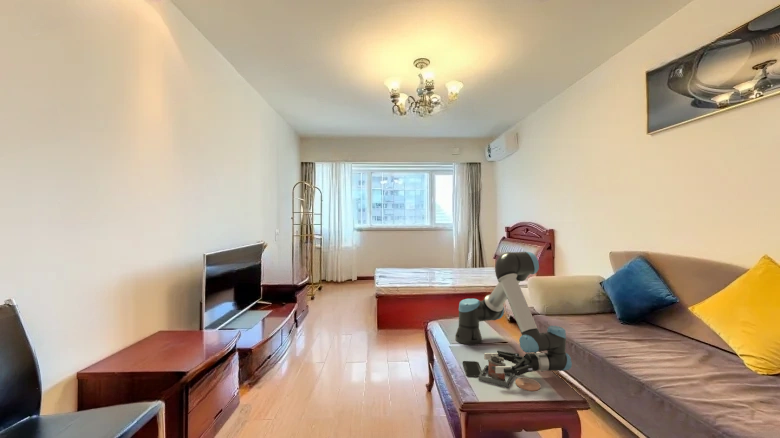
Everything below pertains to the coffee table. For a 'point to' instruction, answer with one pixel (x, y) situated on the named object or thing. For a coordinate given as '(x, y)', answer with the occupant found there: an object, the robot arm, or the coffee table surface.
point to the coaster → (527, 384)
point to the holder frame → (495, 381)
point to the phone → (472, 368)
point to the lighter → (492, 365)
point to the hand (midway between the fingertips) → (489, 362)
